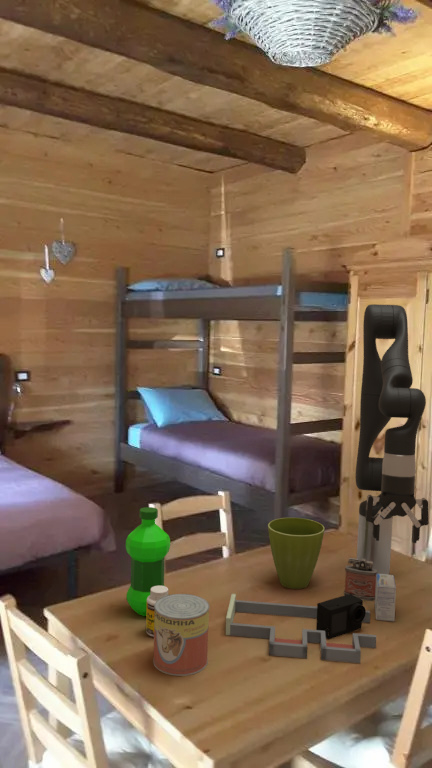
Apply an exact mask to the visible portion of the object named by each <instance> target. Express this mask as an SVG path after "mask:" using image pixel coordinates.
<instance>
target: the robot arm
mask: <svg viewBox="0 0 432 768" xmlns="http://www.w3.org/2000/svg"><path fill="white" fill-rule="evenodd" d="M362 325H363V327H362V329H363V330H362V331H363V343H362V344H363V363H362V364H363V365H362V375H361V376H362V378H361V390H360V401H359V402H360V405H359V407H360V409H359V410H360V411H359V437H358V445H357V447H358V448H357V456H356V462H355V463H356V465H355V477H354V478H355V485H356V487H357V489H358V490H360V491H373V492H380V494H379V495H377V496H374V495H371V494H368V495H367V497H366V499H365V500H363V501H361V502H360V503H359V505H358V506H359V507H358V526H357V527H358V528H357V546H356V559H358V560H361V559H366V561H371V562H373V566H372V569H376V570H377V574H388V575H390V571H391V570H390V569H391V555H392V537H393V521H394V519H393V518H394V517H397V516H398V517H406V516H407V517H408V518H409V519H410V521H411V522H412V524H413V525H412V528H411V529H412V530H411V542H412V544H417V541H420V538H421V537H420V534H421V532H420V531H421V527H423V526H428V525H429V523H430V522H429V518H430V517H429V500H428V499H427V498H425V497H422V498H416V497H415V485H416V473H417V470H416V467H417V463H416V445H417V443H416V441H417V434H418V429H419V427H420V423H421V421H422V420H421V419H422V418H423V414H424V412H425V408H426V402H427V399H426V396H425V393H424V392H423V390H421V389H419V388H413V387H412V385H413V381H414V379H413V375H412V374H413V373H412V369H411V364H410V359H409V358H410V356H409V330H408V329H409V327H408V314H407V311H406V309H405V307H404V306H402V305H398V304H373V303H372V304H368V305H367V306H366V307H365V309H364V313H363V324H362ZM377 340H394V341H393V343H392V344H391V345H390V346H389V348H388V349H387V350H386V351H385V352H384V354H383V355H382V358H381V357H380V355H379V351H378V347H377ZM392 418H399V419H407V420H406V422H405V423H404V424H403V425H401V426H394V427H389V428H387V429H386V430H385V433H384V446H383V447H384V448H383V449H384V450H383V457H376V456H375V457H372V456H370V453H371V450H372V448H373V445H374V443H375V441H376V440H377V438H378V436H379V435H380V434H381V432H382V431H383V430H384V429H385V427H386V426H387V424H388V423H389V422H390V421H391V419H392ZM416 505H417V507H418V508H419V509H420V519H417V517H416V516H415V514H414V513H413V511H412V509H414V507H415V506H416ZM356 566H359V565H356ZM368 568H369V566H368Z"/></svg>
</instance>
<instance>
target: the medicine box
mask: <svg viewBox="0 0 432 768" xmlns="http://www.w3.org/2000/svg"><path fill="white" fill-rule="evenodd" d="M396 591H397V586H396V581H395V575H393V574H389V575H388V574H376V587H375V600H374V612H375V620H378V621H385V622H395V618H396V617H395V616H396V615H395V614H396V613H395V612H396V598H397V596H396V594H397V592H396Z"/></svg>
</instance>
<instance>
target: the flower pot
mask: <svg viewBox="0 0 432 768" xmlns="http://www.w3.org/2000/svg"><path fill="white" fill-rule="evenodd" d="M267 531H268V538H269V544H270V551H271V554H272V560H273V564H274V567H275V571H276V574H277V577H278V580H279V582H280V584H281V585H282V586H283V587H284V588H287V589H294V590H301V589H305V588H306V587H308V586H309V583H310V582H311V579H312V576H313V574H314V571H315V568H316V566H317V563H318V559H319V557H320V554H321V553H320V552H321V549H322V544H323V538H324V534H325V526H324V525H323V524H322V523H320V522H318V521H315V520H312V519H309V518H303V517H281V518H275V519H273V520H271V521H270V522H269V523H268V524H267Z"/></svg>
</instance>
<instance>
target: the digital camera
mask: <svg viewBox="0 0 432 768" xmlns="http://www.w3.org/2000/svg"><path fill="white" fill-rule="evenodd" d="M316 605H317V606H316V607H317V618H316V625H315V627H316V629H315V630H322V631H325V635H326V640H331V639H335V638H338V637H340V636H344V635H346V634H350V633H352V632H353V633H354V632H355V631H359V630H362V626H363V622H362V621H363V619H364V617H365V614H366V611H367V610H366V608H365V606H364V600H361V599H359V598H357V597H355V596H353V595H352V594H348V595H342V596H338V597H335V598H331V599H328V600H324V601H322V602H318V603H317V604H316Z"/></svg>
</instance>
